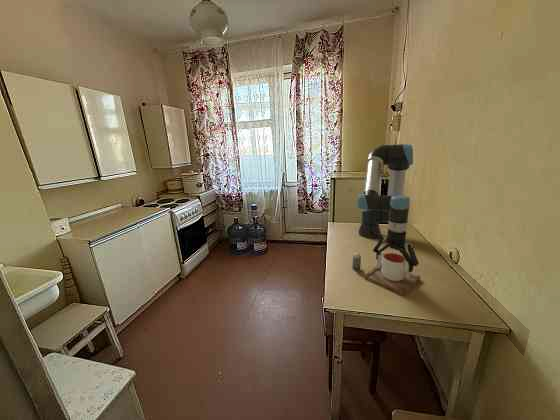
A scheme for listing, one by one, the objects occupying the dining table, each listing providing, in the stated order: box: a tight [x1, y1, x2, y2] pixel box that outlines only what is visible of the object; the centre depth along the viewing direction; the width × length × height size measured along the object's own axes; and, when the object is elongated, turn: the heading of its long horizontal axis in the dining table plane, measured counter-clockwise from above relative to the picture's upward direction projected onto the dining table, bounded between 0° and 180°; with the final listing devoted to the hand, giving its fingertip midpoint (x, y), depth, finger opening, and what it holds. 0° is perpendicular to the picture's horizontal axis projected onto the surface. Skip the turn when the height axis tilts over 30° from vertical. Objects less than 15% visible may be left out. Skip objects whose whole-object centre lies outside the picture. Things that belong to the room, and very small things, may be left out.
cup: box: [381, 252, 407, 281], centre depth 107 cm, size 10×10×10 cm
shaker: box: [351, 252, 362, 272], centre depth 118 cm, size 4×4×9 cm
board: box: [364, 263, 422, 297], centre depth 108 cm, size 18×18×2 cm
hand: (392, 271), depth 108 cm, fingers open, 13 cm apart
